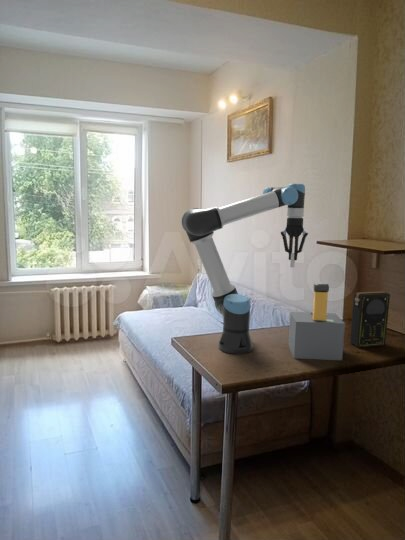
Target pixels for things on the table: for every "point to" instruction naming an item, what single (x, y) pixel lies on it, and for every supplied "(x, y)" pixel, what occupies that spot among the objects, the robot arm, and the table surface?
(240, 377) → the table surface
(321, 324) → the box
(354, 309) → the voltmeter
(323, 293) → the yellow tall block
